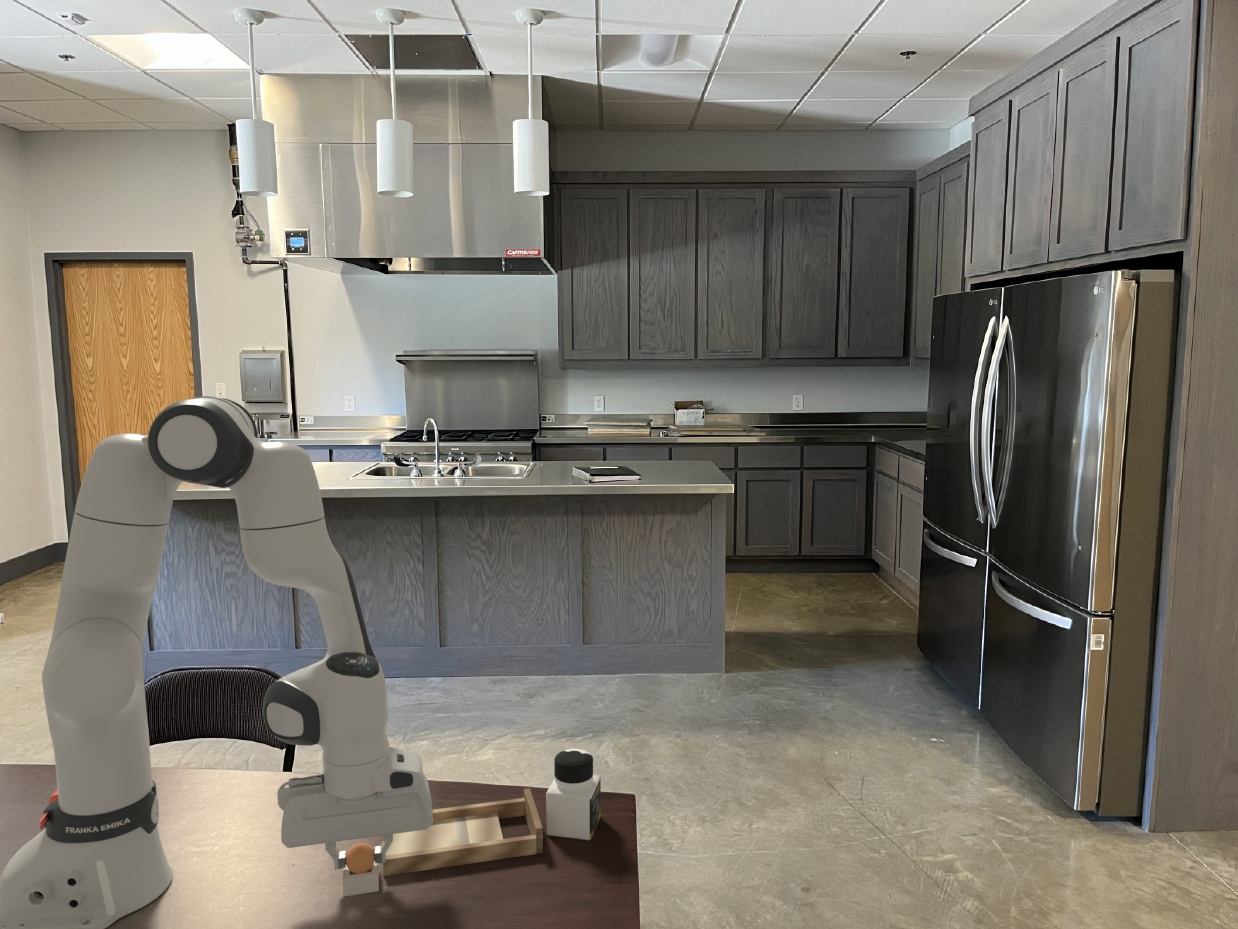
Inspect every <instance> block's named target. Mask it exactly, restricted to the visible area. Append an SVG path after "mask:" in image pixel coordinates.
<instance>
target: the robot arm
mask: <svg viewBox="0 0 1238 929" xmlns="http://www.w3.org/2000/svg"><path fill="white" fill-rule="evenodd" d="M317 478H318V477H317V475H316V471H315V468H314V465H313V462H312V460H311V458H310V455H309V453H308V452H307V451H306V450H305V449H304V448H302V447H301V446H299V445H296V444H294V443H292V442H286V441H262V440H260V439H259V438H258V428H257V425H256V422H255V420H254V418H253V416H252V415H251V414H250V412H249V411H248V410H247V409H246V408H245V407H244V406H242V405H241V404H240V403H238V402H237V401H234V400H232V399H228V398H223V397H217V396H208V395H207V396H205V395H204V396H195V397H191V398H189V399H182V400H179V401H175V402H174V403H172V404H170V405H167V406H166V407H165V408H163V409H162V410H161V411H160V412H159V413H158V414H157V415H156V416H155V418H154V420H153V422H152V423H151V425H150V427H149V430H148V434H140V433H128V432H127V433H119V434H114V435H111V436H108V437H106V438H104V439H102V440H101V441H100V442H99V443H98V444H97V445H96V447H95V448H94V450H93V453H92V454H91V456H90V459H89V462H88V463H87V467H86V470H85V472H84V474H83V478H82V482H81V485H80V488H79V491H78V493H77V494H78V495H77V499H76V504H75V509H74V512H73V518H72V523H71V528H70V534H69V539H68V544H67V550H66V555H65V561H64V565H63V570H62V576H61V583H60V584H61V585H60V589H59V596H58V602H57V608H56V613H55V618H54V625H53V629H52V636H51V639H50V645H49V648H48V651H47V656H46V659H45V663H44V665H43V670H42V674H41V681H42V682H41V683H42V689H43V696H44V697H43V699H44V704H45V710H46V717H47V724H48V729H49V733H50V738H51V742H52V747H53V754H54V764H55V775H56V776H55V777H56V778H55V779H56V785H57V786H56V787H57V789H56V790H55V791H54V792H53V793H52V795H51V796H50V798H49V799H48V805H47V806H46V807H44V810H43V813H42V814H43V815H42V816H41V818H40V819H39V823H38V824H40V826H39V830H42V831H40V832H39V833H37V834H36V835H35V836H33V838H31V839H30V840H29V841H28V842H26V843H24V845H23V846H21V848H19V850H17V851H16V852H15V853H14V855H13V856H12V857H11V858H10V860H9V861H8V862H7V864H6V865H5V867H4V869H3V871H2V873H1V875H0V929H107V928H108V927H109V926H111V925H112V924H113V923H115V922H116V921H118V920H119V919H121V918H123V917H125V916H127V915H130V914H131V913H133V912H135V911H137V910H139V909H141V908H143V907H145V906H147V905H149V904H150V903H152V902H153V901H154V900H156V899H157V898H158V897H159V896H160V895H162V894H163V892H165V891H166V890H167V888H168V887H169V885H170V884H171V882H172V879H173V870H172V868H171V866H170V864H169V861H168V859H167V856H166V854H165V851H164V848H163V844H162V840H161V836H160V832H159V827H158V824H159V819H160V807H159V806H160V804H159V795H158V791H157V784H156V782H155V780H153V774H152V762H151V761H152V760H151V749H150V748H151V745H150V734H149V723H148V713H147V702H146V701H147V700H146V690H145V688H146V687H145V677H144V676H145V675H144V662H143V661H144V656H143V655H144V653H143V652H144V642H145V634H146V629H147V624H148V620H149V615H150V611H151V607H152V602H153V599H154V594H155V591H156V588H157V584H158V580H159V575H160V570H161V565H162V559H163V554H164V550H165V549H164V548H165V544H166V539H167V533H168V528H169V523H170V518H171V514H172V513H171V512H172V507H173V502H174V499H175V496H176V492H177V491H178V489H179V487H180V486H181V484H182V483H183V482H185V483H190V484H194V485H204V486H209V487H213V488H219V489H229V490H230V492H231V494H232V495H233V497H234V501H235V504H236V509H237V510H236V511H237V516H238V526H239V534H240V542H241V548H242V553H243V556H244V560H245V561H246V563H247V566H248V567H249V568H248V569H250V570H251V571H252V572H253V573H254V574H255V575H257V576H258V577H259V578H260V579H262V580H264V581H265V582H267V583H270V584H273V585H275V586H281V587H284V588H285V587H287V588H294V589H300V590H303V591H305V592H306V593H308V594H309V595H310V596H311V597H312V598H313V599H314V600H313V601H315V604H316V607H317V609H318V613H319V617H320V621H321V625H322V628H323V632H324V636H325V640H326V644H327V651H326V654H325V656H324V657H323V658H322V659H321V660H319V661H317V662H315V663H312V664H309V665H308V666H305V667H302V668H300V669H297V670H295V671H293V672H290V673H289V674H286V675H284V676H282V677H280V678H279V679H277V680H275V681H273V682H272V683H271V684H270V685H269V686H268V687H267V689H266V691H265V694H264V696H263V700H262V714H263V720H264V723H265V727H266V728H267V730H268V732H269V733H270V734H271V735H272V736H273V737H274V738H276V739H277V740H279V741H280V742H283V743H286V744H289V745H293V746H301V747H302V746H306V747H309V746H315V745H319V746H320V747H321V749H322V769H323V770H322V774H317V775H308V776H306V777H305V776H304V777H291V778H289V779H288V781H286V782H283V784H281V785H280V786H279V788H278V790H277V792H276V795H277V804H278V807H279V808H280V810H282V811H283V813H282V818H281V819H282V820H281V828H280V830H281V831H280V833H281V834H280V838H281V839H280V840H281V844H283V845H284V846H285V847H286V848H288V849H290V848H291V849H292V848H299V847H307V846H313V845H321V844H322V845H323V844H324V849H325V851H326V852H327V853H328V855H329V856H330V857H331V858H332V860H334V862H333V863H334V870H343V868H346V854H347V852H346V850H341V851H340V848H338V846H337V842H338V843H339V842H344V841H350V840H351V841H352V840H359V839H366V838H374V837H380V836H382V842H381V844H380V845H377V846H374V852H375V864H378V863H379V864H383V863H385V862H386V851H387V850H388V848H389V846H390V845H391V843H392V841H393V834H397V833H404V832H412V831H419V830H426V829H428V828H429V827H430V826H431V824H432V823H433V810H434V809H433V803H432V794H431V790H430V785H429V782H428V778H427V776H426V774H425V773H424V772H423V771H424V770H423V760H422V759H421V756H420V754H419V753H418V752H416V751H413V750H412V751H411V750H406V749H400V748H395V747H391V746H390V742H389V739H388V736H387V725H388V721H389V700H388V698H389V697H388V690H387V683H386V682H387V681H386V677H385V674H384V672H383V667H382V666H381V664H380V662H379V660H378V659H377V657H376V655H375V653H374V651H373V648H372V645H371V642H370V639H369V635H368V632H367V628H366V624H365V620H364V617H363V612H362V609H361V604H360V601H359V598H358V594H357V590H356V585H355V581H354V579H353V578H354V577H353V576H352V572H351V569H350V567H349V564H348V561H347V559H346V557H345V556H344V554H342V552H340V551H339V550H338V549H336V548H335V546H334V545H333V542H332V540H331V538H330V536H329V532H328V528H327V524H326V518H325V511H324V504H323V499H322V493H321V489H320V485H319V481H318V479H317Z"/></svg>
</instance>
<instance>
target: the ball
mask: <svg viewBox="0 0 1238 929" xmlns="http://www.w3.org/2000/svg"><path fill="white" fill-rule="evenodd" d="M374 861H375V848H374V847H373V846H372V845H370V844H369V843H367V842H358V843H355V844H353V845H352V846H351V847H350V848H348V850H347V852H346V866H347V868H348V869H349V870H350V871H351V872H353V873H355V874H360V873H365V872H367V871H368V870H369V869H370V868H371V867H372V866H373V864H374Z"/></svg>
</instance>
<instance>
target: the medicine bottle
mask: <svg viewBox="0 0 1238 929" xmlns="http://www.w3.org/2000/svg"><path fill="white" fill-rule="evenodd" d="M553 760H554V761H553V762H554V763H553V764H554V765H553V766H554V768H553V769H554V775H553V778H554V779H553V780H552V781H551V783H550V786H549V787H548V789H547V791H546V792H545V793H546V794H545V799H546V800H545V810H546V811H545V817H546V819H545V824H546V827H545V828H546V832H545V833H546V835H547V836H550V837H560V838H567V839H575V840H576V839H577V840H585V841H591V839H592V838H593V835H594V833H595V830H596V828H597V826H598V823H599V821H600V818H601V801H602V800H601V793H602V792H601V791H602V790H601V788H602V787H601V782H602V781H601V775H596V774H594V756H593V755H592V753H590V752H589V751H587V750H584V749H581V748H568V749H564V750H562V751H559V752H558V753H557V754H556V755H555V757H554V759H553Z"/></svg>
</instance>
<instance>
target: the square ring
mask: <svg viewBox="0 0 1238 929" xmlns="http://www.w3.org/2000/svg"><path fill="white" fill-rule="evenodd" d="M379 864H380V863H378V864H375V861H374V864H373V866H372V867H371V868H370V869H369V870H368V871H367V872H365V873H360V874H355V873H353V872H351V871H350V870H349V869H348V868H347V866H346V868H343V869H342V870H343V871H342V898H343V897H350V896H356V895H363V894H368V893H369V894H370V893H376V892H379V890H380V889H379V888H380V886H379V884H380V882H379V881H380V866H379Z"/></svg>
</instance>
